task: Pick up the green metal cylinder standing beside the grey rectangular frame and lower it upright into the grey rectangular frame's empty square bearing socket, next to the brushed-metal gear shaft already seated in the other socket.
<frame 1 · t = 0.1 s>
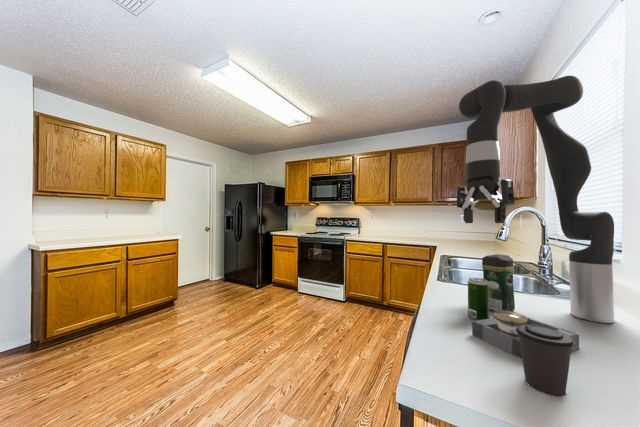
hand: (483, 223, 65), 29 cm above the countertop, tool pointing down, fingers open, 8 cm apart
green metal cylinder: (478, 320, 75), on the countertop
coffee jar: (498, 310, 85), on the countertop
coffee cup: (544, 387, 45), on the countertop
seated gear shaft: (510, 344, 60), resting in grey rectangular frame
grey rectangular frame: (522, 341, 61), on the countertop
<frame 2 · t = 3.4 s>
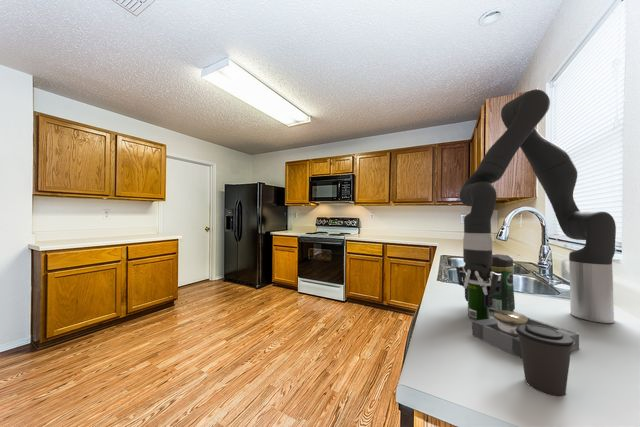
hand: (478, 303, 76), 5 cm above the countertop, tool pointing down, fingers closed on green metal cylinder, 5 cm apart
green metal cylinder: (478, 320, 75), on the countertop, touching gripper
everything else where it was.
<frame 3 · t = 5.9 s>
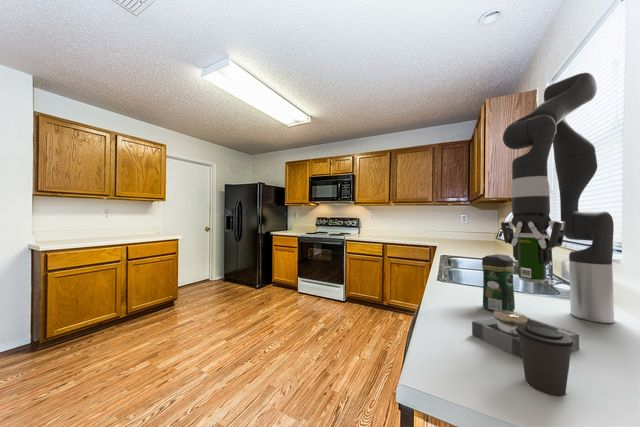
hand: (531, 261, 64), 19 cm above the countertop, tool pointing down, fingers closed on green metal cylinder, 5 cm apart
green metal cylinder: (531, 281, 64), point 14 cm above the countertop, touching gripper
everything else where it was.
when the fingers open (6 cm above the countertop, at t = 8.7 s): green metal cylinder drops 1 cm, resting in grey rectangular frame.
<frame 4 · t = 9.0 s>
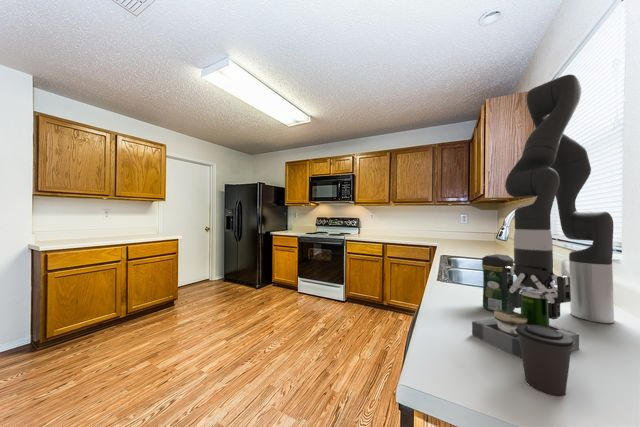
hand: (533, 312, 63), 7 cm above the countertop, tool pointing down, fingers open, 7 cm apart
green metal cylinder: (534, 340, 63), resting in grey rectangular frame
everything else where it was.
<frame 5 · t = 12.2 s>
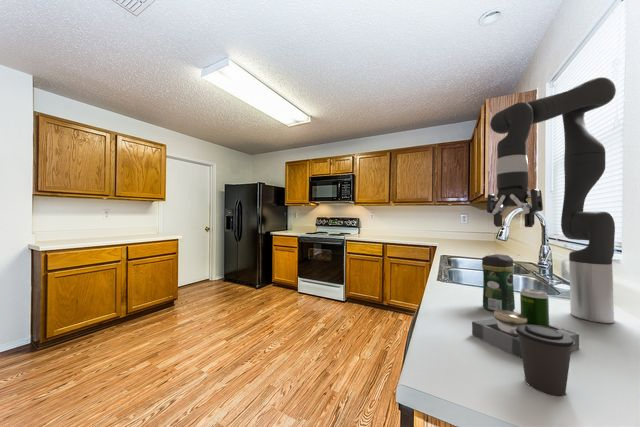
hand: (512, 226, 74), 28 cm above the countertop, tool pointing down, fingers open, 8 cm apart
nothing on the countertop moved.
at the end: green metal cylinder 0.1 cm from the target spot on the grey rectangular frame, point 0.0 cm above the grey rectangular frame's base; green metal cylinder tilted 0°; the gripper is holding nothing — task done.
